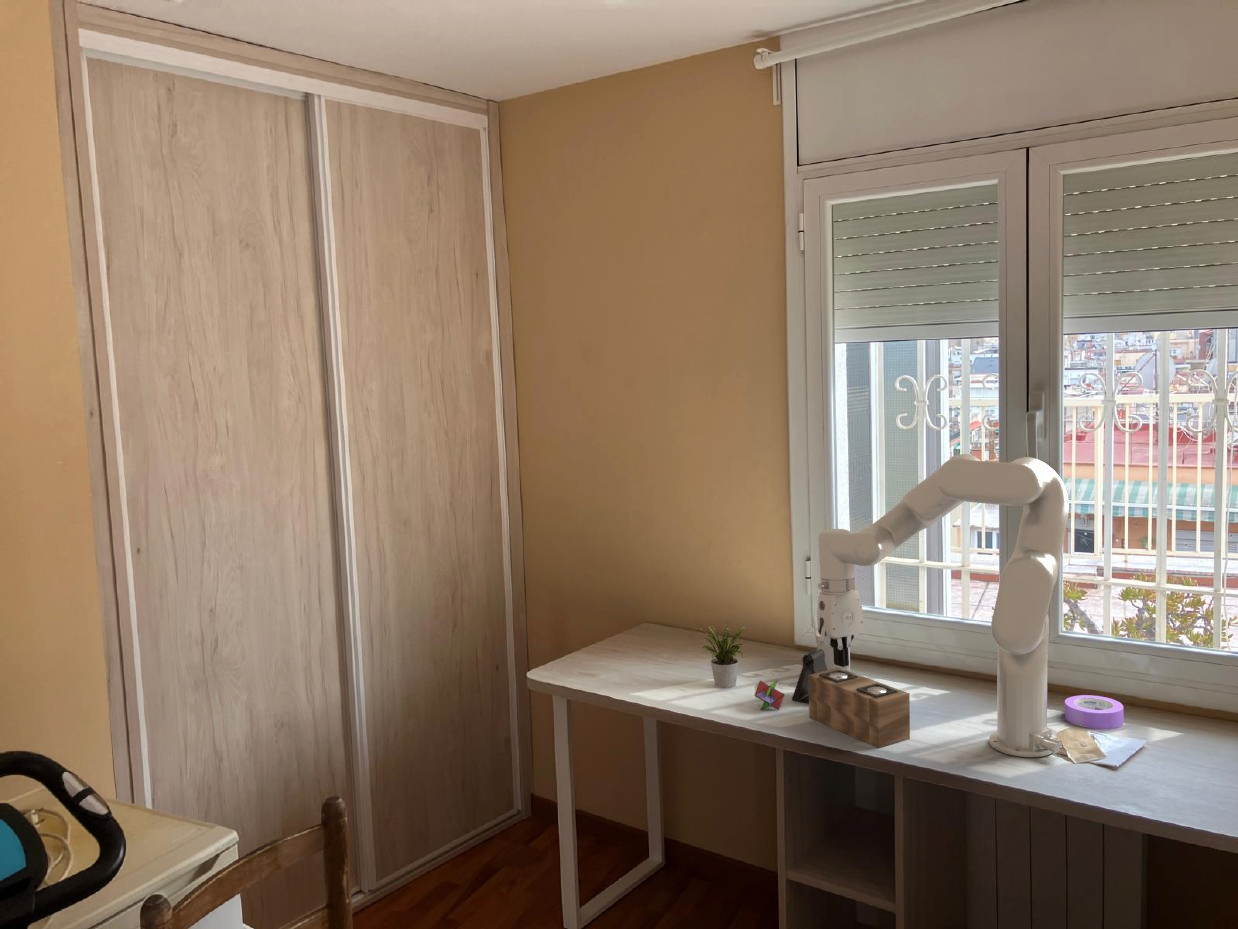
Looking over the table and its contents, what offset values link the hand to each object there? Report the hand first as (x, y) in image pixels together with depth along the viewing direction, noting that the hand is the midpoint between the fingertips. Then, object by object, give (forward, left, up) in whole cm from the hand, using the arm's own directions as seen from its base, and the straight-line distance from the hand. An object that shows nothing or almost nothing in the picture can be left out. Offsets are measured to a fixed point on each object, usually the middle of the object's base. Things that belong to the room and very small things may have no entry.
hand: (841, 664), depth 222 cm
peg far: (+1, 0, -12) cm, 12 cm away
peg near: (-11, 0, -11) cm, 16 cm away
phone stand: (+14, -4, -13) cm, 19 cm away
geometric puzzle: (+16, +8, -13) cm, 22 cm away
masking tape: (-31, -45, -13) cm, 56 cm away
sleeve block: (-5, 0, -13) cm, 14 cm away
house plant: (+36, +8, -13) cm, 39 cm away
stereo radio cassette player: (+26, -20, -13) cm, 35 cm away
